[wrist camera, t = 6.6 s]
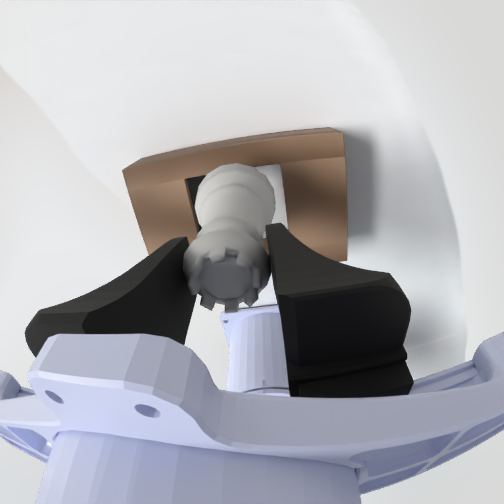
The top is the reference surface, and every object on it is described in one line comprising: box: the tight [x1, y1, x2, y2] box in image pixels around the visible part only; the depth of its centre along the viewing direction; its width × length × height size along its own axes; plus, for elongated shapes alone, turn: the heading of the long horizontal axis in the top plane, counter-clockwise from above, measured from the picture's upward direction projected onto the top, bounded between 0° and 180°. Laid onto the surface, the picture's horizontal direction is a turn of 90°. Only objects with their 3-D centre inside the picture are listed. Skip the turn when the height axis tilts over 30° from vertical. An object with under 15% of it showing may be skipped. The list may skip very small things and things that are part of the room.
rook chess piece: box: [182, 163, 275, 313], centre depth 13 cm, size 4×4×8 cm
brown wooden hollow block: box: [122, 127, 347, 262], centre depth 20 cm, size 9×14×4 cm, turn 99°
